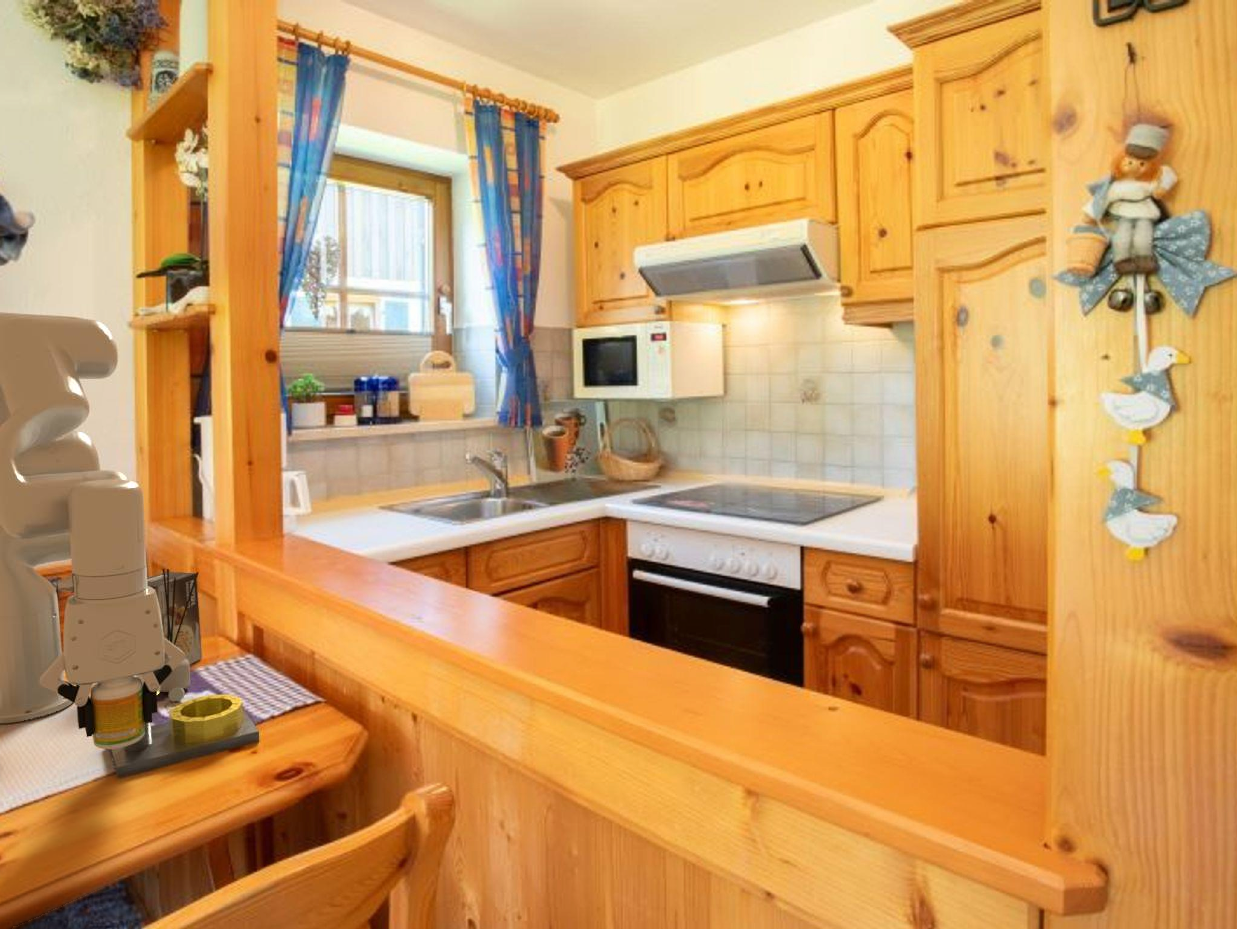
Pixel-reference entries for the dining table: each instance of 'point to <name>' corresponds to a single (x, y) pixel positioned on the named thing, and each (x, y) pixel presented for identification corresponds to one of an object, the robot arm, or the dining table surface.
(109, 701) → the supplement bottle
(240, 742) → the grey peg stand
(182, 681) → the reed diffuser
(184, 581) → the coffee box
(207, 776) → the dining table surface
